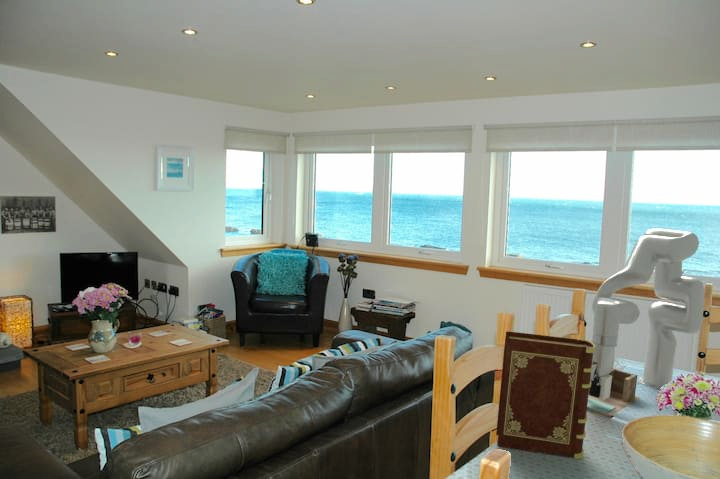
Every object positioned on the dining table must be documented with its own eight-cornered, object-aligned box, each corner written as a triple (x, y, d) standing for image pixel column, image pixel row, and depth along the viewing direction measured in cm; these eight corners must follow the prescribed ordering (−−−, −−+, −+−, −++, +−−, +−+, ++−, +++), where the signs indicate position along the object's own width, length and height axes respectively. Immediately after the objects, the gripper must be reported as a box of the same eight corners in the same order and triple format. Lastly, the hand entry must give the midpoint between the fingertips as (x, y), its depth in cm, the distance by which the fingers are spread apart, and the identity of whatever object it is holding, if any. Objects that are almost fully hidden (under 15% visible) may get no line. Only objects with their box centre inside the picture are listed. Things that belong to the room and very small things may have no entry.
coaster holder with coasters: (604, 389, 198) (607, 366, 197) (640, 400, 189) (642, 376, 188) (573, 405, 180) (575, 380, 180) (610, 418, 172) (613, 392, 171)
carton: (609, 396, 178) (612, 375, 177) (603, 400, 175) (605, 378, 174) (591, 391, 182) (593, 370, 182) (584, 394, 179) (587, 373, 178)
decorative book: (579, 446, 151) (591, 340, 148) (585, 460, 143) (598, 348, 140) (496, 434, 155) (505, 330, 152) (497, 447, 148) (507, 338, 145)
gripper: (603, 333, 185) (597, 385, 187) (581, 340, 173) (574, 396, 175) (626, 338, 180) (620, 392, 182) (605, 346, 168) (598, 404, 170)
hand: (597, 393), depth 178 cm, fingers closed on carton, 5 cm apart
